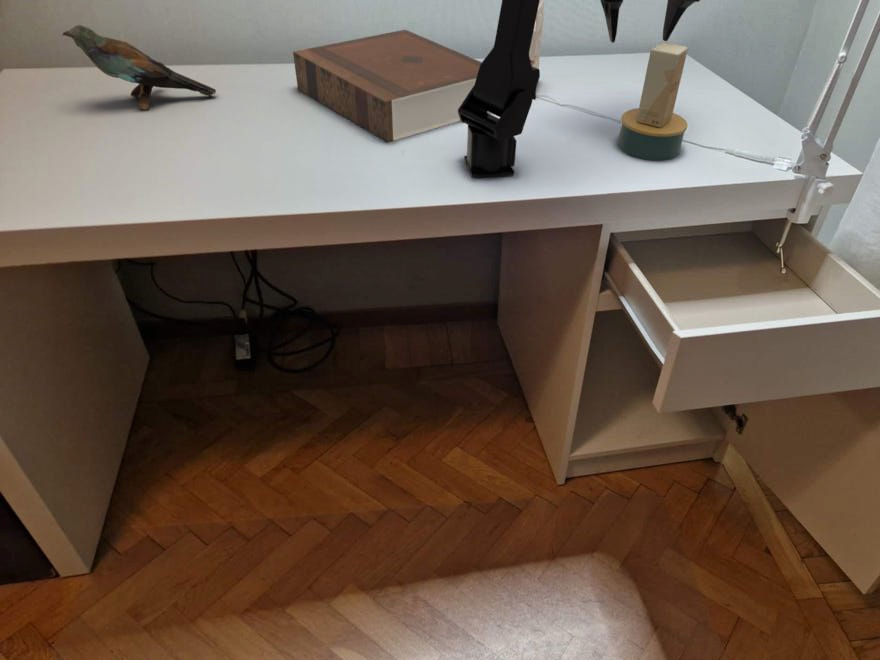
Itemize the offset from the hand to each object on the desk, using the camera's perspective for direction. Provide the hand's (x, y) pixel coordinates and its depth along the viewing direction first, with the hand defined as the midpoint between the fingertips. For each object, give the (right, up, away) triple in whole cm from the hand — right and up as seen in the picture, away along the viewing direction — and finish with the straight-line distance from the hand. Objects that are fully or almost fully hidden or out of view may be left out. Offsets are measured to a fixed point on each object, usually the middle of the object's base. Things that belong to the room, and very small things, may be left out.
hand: (638, 41), depth 112 cm
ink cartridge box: (-18, -1, +18) cm, 26 cm away
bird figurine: (-83, -7, +6) cm, 83 cm away
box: (+2, -14, -2) cm, 14 cm away
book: (-41, -5, +11) cm, 43 cm away
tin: (+2, -17, 0) cm, 17 cm away
